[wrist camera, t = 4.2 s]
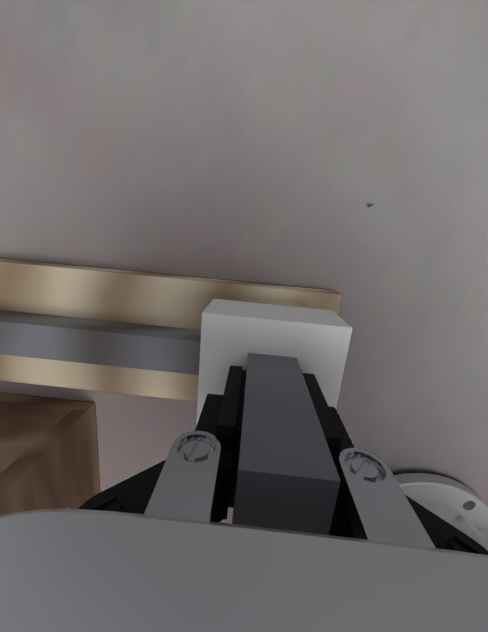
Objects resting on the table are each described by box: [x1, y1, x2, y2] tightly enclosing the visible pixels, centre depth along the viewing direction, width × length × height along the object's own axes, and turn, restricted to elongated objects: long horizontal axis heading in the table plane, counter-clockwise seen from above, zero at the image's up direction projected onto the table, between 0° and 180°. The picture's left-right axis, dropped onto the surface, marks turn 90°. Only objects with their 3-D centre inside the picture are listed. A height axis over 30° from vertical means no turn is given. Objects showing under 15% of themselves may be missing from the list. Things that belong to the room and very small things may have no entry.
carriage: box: [196, 299, 352, 535], centre depth 10 cm, size 6×7×9 cm
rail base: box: [0, 258, 342, 402], centre depth 17 cm, size 26×8×4 cm, turn 85°
